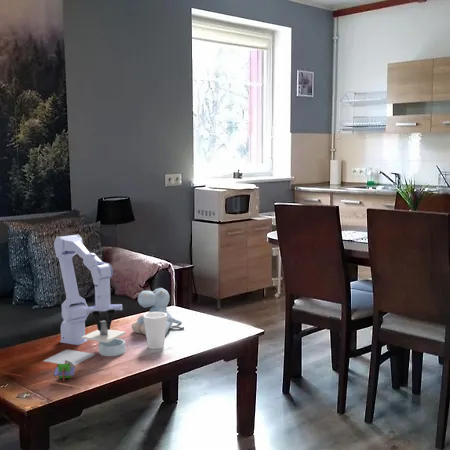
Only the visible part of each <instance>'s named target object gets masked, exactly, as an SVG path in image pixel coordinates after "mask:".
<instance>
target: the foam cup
mask: <svg viewBox="0 0 450 450" xmlns="http://www.w3.org/2000/svg"><path fill="white" fill-rule="evenodd" d="M142 316H143V319H144V324H145V330H146V336H145V337H146V342H147V347H148V349H151V350H158V349H163V348H164V347H165V339H166V335H165V332H166V324H167V314H166V313H164V312H149V311H148V312H146V313H144V314H143V315H142Z"/></svg>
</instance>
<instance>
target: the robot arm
mask: <svg viewBox="0 0 450 450" xmlns="http://www.w3.org/2000/svg"><path fill="white" fill-rule="evenodd" d="M53 247H54V253H55V257H56V258H57V259H58V262H59V266H60V271H61V272H60V273H61V278H62V282H63V285H64V286H63V287H64V291H65V292H64V293H65V298H66V299H65V300H64V301H63V302H62V303H61V318H62V319H63V321H62V322H61V324H60V341H59V343H62V344H63V343H64V344H68V345H76V346H80V345H82V344H84V343H86V342H88V341H89V340H87V339H82V336H84V335H86V321H87V318H88V316H89V314H91V313H92V316H93V318H94V320H95V324H96V327H97V330H98V331H100V321H101V315H100V313H101V312H106V319H107V320H106V321H107V322H108V330H111V325H112V321H113V319H114V317H115V314H116V312H115V311H123V304H121V303H119V304H118V303H116V304H114V303H113V304H112V303H111V278H112V277H113V274H114V272H113V271H114V270H113V267H112V265H111V264H110V263H109V262H104V261H103V260H101V259H100V257H99V256H98V255H97V254H96V253H94V252H90V251H89V250H88V249H87V247H86V246H85V245H84V242H83V238H82V237H81V235H80V234H78V233H76V234H71V235H64V236H63V235H62V236H56V238H55V239H54V242H53ZM75 255H78V256H79V257H80V258H81V259H82V264H83V265H84V266H85V267H86V268H87V269H88V270H89V271H90V273H91V277H92V282H93V285H94V301H95V303H94V305H91V306H88V304H87V302H86V299H85V298H83V297H82V296H81V295H80V291H79V288H78V283H77V277H76V272H75V267H74V263H73V258H74V256H75Z"/></svg>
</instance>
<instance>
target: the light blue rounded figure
mask: <svg viewBox="0 0 450 450" xmlns="http://www.w3.org/2000/svg"><path fill="white" fill-rule="evenodd" d="M170 297H171V296H170V294H169V292H168V290H166V289H164V288H163V287H158V288H155V289H154V290H153V291H152V290H142V291H141V292H140V293H139V294H138V296H137V302H138V304H139V305H140V306H141V307H143V308H144V309H145V308H146V309H147V308H150V309H149V311H148V313H149V312H164V313H166V314H167V324H166V332H165V336H166V335H167V333H168V331H169V329H170V328H176V329H181V330H183V329H184V328H185V327H184V326H182V327H181V326H176V325H173V323H174V324H177V325H181V324H182V323H183V322H182V321H181V320H178V319H176V318H175V317H173V316H172V315H171V314H170V313H169V312H168V310H167V307H168V305H169V302H170V299H171V298H170ZM131 330H133V331H134V333H136V334H139V335H140V334H142V335H144V336H145V337H146V330H145V324H144V319H143V315H140V316H138V318H137V320H136V322H133V323H132V325H131Z"/></svg>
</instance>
